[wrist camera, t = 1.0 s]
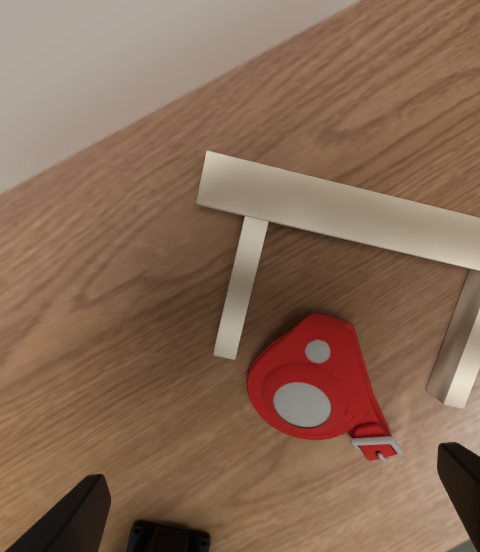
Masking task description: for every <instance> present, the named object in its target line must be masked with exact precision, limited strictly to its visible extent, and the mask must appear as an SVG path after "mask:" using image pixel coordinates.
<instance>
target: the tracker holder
mask: <svg viewBox="0 0 480 552" xmlns="http://www.w3.org/2000/svg"><path fill="white" fill-rule="evenodd" d="M248 393H249V397H250V400H251V402H252V404H253V406H254V408H255V409H256V411H257V412H258V413H259V415H260V416H261V417H262V418H263V419H264V420H265V421H266V422H267V423H268V424H270V425H271V426H273V427H274V428H276V429H278V430H279V431H281V432H283V433H285V434H288V435H291V436H293V437H297V438H301V439H309V440H323V439H330V438H334V437H337V436H339V435H342V434H344V433H345V432H347V433H348V434H349V435H350V436H351V438H352V439H351V444H352V445H353V446H354V447H355V448H356V449H357V450H358V451H359V452H360V453H361V454H363V455H364V456H365V458H366V459H367V460H369V461H372V460H378V459H380V460H382V461H383V462H387V461H388V459H387V458H386V457H389V456H399V455H403V454H404V453H403V450H402V449H401V447H400V446H399V444H398V443H397V442H396V440H395V439H394V437H392V435H391V432H390V430H389V427H388V425H387V423H386V420H385V418H384V416H383V414H382V412H381V409H380V407H379V405H378V403H377V401H376V398H375V396H374V394H373V391H372V387H371V384H370V380H369V377H368V373H367V370H366V367H365V363H364V360H363V356H362V353H361V350H360V346H359V343H358V339H357V335H356V331H355V328H354V326H353V324H352V323H350V322H347V321H344V320H341V319H338V318H334V317H331V316H328V315H325V314H321V313H314V314H312V315H310V316H308V317H306V318H305V319H304V320H302V321H301V322H300V323H299V324H298V325H297V326H295V327H294V328H293V329H292V330H290V331H289V332H287V333H286V334H285V335H283V336H281V337H280V338H278V339H276V340H275V341H273V342H272V343H271V344H270V345H269V346H268V347H267V348H266V349H265V350H264V351H262V352H261V353H260V354H259V356H258V357H257V358H256V359H255V361H254V362H253V364H252V366H251V368H250V371H249V375H248Z"/></svg>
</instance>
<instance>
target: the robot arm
mask: <svg viewBox="0 0 480 552" xmlns="http://www.w3.org/2000/svg"><path fill="white" fill-rule="evenodd" d="M437 470H438V474H439V477H440V479H441V481H442V483H443V485H444V487H445V489H446V491H447V493H448V495H449V497H450V499H451V501H452V503H453V505H454V507H455V509H456V511H457V513H458V515H459V517H460V519H461V521H462V523H463V525H464V527H465V529H466V531H467V533H468V535H469V537H470V539H471V541H472V543H473V545H474V547H475V548H476V550H477V552H480V456H478V455H476V454H475V453H473V452H472V451H470V450H468V449H467V448H465V447H464V446H462V445H460V444H459V443H456V442H448V443H441V444H439V446H438V459H437ZM110 505H111V495H110V492H109V489H108V486H107V482H106V479H105V477H104V475H103V474H93V475H88V476H86V477H85V478H84V479H83V480H82V481H81V482H79V483H78V484H77V485H76V486H75V487H74V488H73V489H72V490H71V491H70V492H69V493H68V494H67V495H65V496H64V497H63V498H62V499H61V500H60V501H59V502H58V503H57V504H56V505H55V506H54V507H52V508H51V509H50V510H49V511H48V512H47V513H46V514H45V515H44V516H43V517H42V518H41V519H39V520H38V521H37V522H36V523H35V524H34V525H33V526H32V527H31V528H30V529H29V530H28V531H27V532H25V533H24V534H23V535H22V536H21V537H20V538H19V539H18V540H17V541H16V542H15V543H14V544H12V545H11V546H10V547H9V548H8V549H7V550H6V551H5V552H98V550H99V546H100V543H101V539H102V535H103V532H104V528H105V524H106V520H107V517H108V513H109V509H110ZM209 546H210V536H209V535H208V534H205V533H200V532H194V531H189V530H183V529H178V528H173V527H167V526H162V525H156V524H151V523H145V522H140V521H137V522H135V523H133V526H132V528H131V532H130V537H129V542H128V547H127V552H208V550H209Z"/></svg>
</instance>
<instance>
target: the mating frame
mask: <svg viewBox="0 0 480 552" xmlns="http://www.w3.org/2000/svg"><path fill="white" fill-rule="evenodd" d="M196 203H197V204H199V205H201V206H204V207H208V208H212V209H217V210H221V211H225V212H229V213H234V214H238V215H242V216H245V217H244V221H243V225H242V230H241V234H240V238H239V243H238V247H237V251H236V256H235V260H234V264H233V269H232V273H231V277H230V282H229V286H228V290H227V295H226V299H225V303H224V308H223V312H222V316H221V321H220V325H219V329H218V334H217V338H216V342H215V348H214V353H213V355H214V356H218V357H223V358H228V359H233V360H235V357H236V353H237V349H238V345H239V341H240V337H241V333H242V329H243V325H244V320H245V316H246V312H247V308H248V304H249V300H250V296H251V292H252V288H253V284H254V280H255V275H256V271H257V267H258V263H259V259H260V255H261V251H262V247H263V243H264V239H265V235H266V230H267V226H268V222H271V223H276V224H280V225H284V226H288V227H293V228H297V229H301V230H305V231H309V232H314V233H318V234H322V235H326V236H331V237H335V238H339V239H343V240H347V241H352V242H356V243H360V244H364V245H368V246H373V247H377V248H381V249H385V250H390V251H394V252H398V253H402V254H406V255H411V256H415V257H419V258H423V259H427V260H432V261H436V262H440V263H444V264H449V265H453V266H457V267H461V268H465V269H470V270H469V273H468V276H467V278H466V281H465V284H464V287H463V289H462V292H461V295H460V298H459V300H458V303H457V306H456V309H455V311H454V314H453V317H452V319H451V322H450V325H449V328H448V330H447V333H446V336H445V339H444V341H443V344H442V347H441V350H440V352H439V355H438V358H437V361H436V363H435V366H434V369H433V372H432V374H431V377H430V380H429V383H428V385H427V388H426V389H427V390H428V391H429V392H430V393H431V394H432V395H433V396H434V397H436V398H437V399H438V400H439V401H440V402H441V403H442V404H444V405H448V406H453V407H458V408H462V409H464V406H465V404H466V401H467V399H468V396H469V394H470V391H471V389H472V386H473V383H474V381H475V378H476V376H477V373H478V371H479V368H480V218H478V217H474V216H470V215H466V214H462V213H458V212H454V211H450V210H446V209H442V208H438V207H433V206H429V205H425V204H421V203H417V202H413V201H409V200H405V199H401V198H397V197H393V196H389V195H385V194H381V193H377V192H373V191H369V190H365V189H360V188H356V187H352V186H348V185H344V184H340V183H336V182H332V181H328V180H324V179H320V178H316V177H312V176H308V175H304V174H300V173H296V172H291V171H287V170H283V169H279V168H275V167H271V166H267V165H263V164H259V163H255V162H251V161H247V160H243V159H239V158H235V157H231V156H227V155H222V154H218V153H214V152H210V151H207V152H206V157H205V162H204V167H203V172H202V177H201V181H200V186H199V191H198V196H197V201H196Z"/></svg>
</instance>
